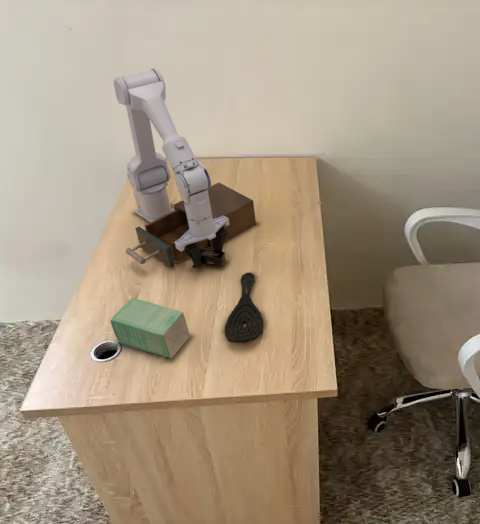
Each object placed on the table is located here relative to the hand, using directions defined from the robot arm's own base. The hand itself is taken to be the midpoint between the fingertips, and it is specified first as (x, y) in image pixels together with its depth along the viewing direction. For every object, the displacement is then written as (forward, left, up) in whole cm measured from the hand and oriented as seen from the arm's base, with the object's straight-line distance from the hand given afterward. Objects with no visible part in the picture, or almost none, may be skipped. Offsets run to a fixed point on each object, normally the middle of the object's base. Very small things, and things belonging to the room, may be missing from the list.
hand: (208, 260), depth 143 cm
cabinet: (-11, +12, -2) cm, 17 cm away
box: (+11, -24, -2) cm, 27 cm away
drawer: (-11, -3, -1) cm, 12 cm away
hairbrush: (+19, -5, -2) cm, 20 cm away
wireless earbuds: (0, 0, -2) cm, 2 cm away
